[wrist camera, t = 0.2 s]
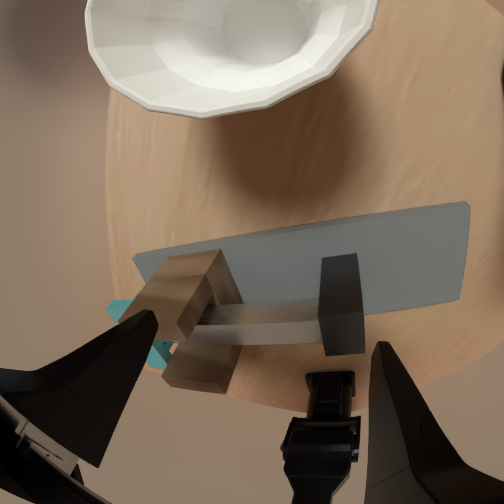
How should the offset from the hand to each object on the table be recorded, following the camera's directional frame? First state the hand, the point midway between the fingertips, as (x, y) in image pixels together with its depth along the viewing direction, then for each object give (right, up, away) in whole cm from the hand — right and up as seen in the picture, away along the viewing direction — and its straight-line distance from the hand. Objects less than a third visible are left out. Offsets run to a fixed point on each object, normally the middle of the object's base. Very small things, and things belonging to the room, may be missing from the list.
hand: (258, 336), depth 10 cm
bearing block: (-4, 0, +19) cm, 19 cm away
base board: (+4, +1, +15) cm, 16 cm away
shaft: (-2, 0, +17) cm, 17 cm away
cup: (+1, +19, +5) cm, 20 cm away
